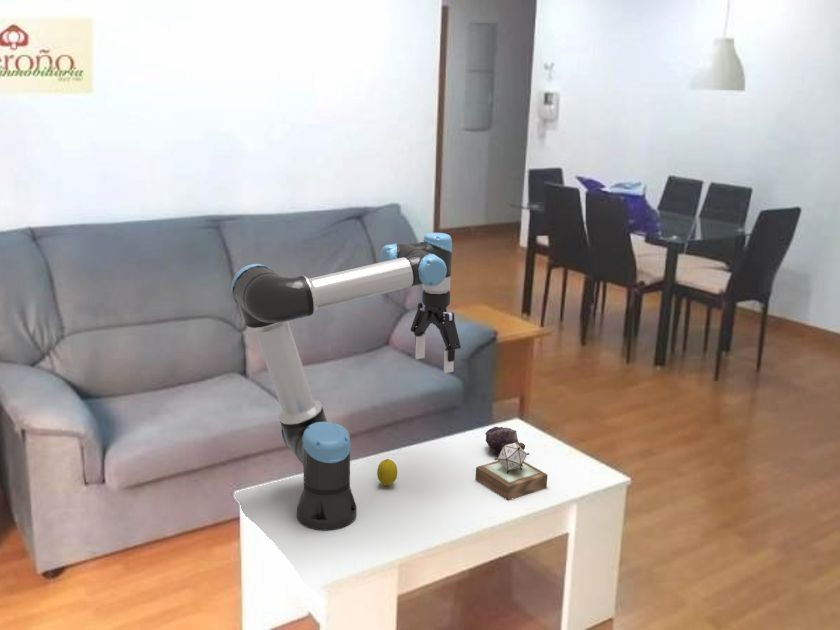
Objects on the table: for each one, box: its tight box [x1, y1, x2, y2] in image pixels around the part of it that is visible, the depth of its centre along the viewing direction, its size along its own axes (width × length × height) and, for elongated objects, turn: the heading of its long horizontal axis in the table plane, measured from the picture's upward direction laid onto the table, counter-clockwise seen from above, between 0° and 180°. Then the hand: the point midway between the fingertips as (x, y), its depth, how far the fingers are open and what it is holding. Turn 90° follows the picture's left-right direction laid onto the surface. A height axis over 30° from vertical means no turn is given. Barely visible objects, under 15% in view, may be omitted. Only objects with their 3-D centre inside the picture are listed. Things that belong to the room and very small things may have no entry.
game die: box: [493, 440, 530, 474], centre depth 238 cm, size 9×8×10 cm
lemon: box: [376, 458, 398, 487], centre depth 236 cm, size 6×6×8 cm
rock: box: [485, 426, 526, 457], centre depth 258 cm, size 12×9×10 cm
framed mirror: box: [475, 460, 548, 501], centre depth 240 cm, size 14×14×4 cm
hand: (433, 365), depth 239 cm, fingers open, 13 cm apart
